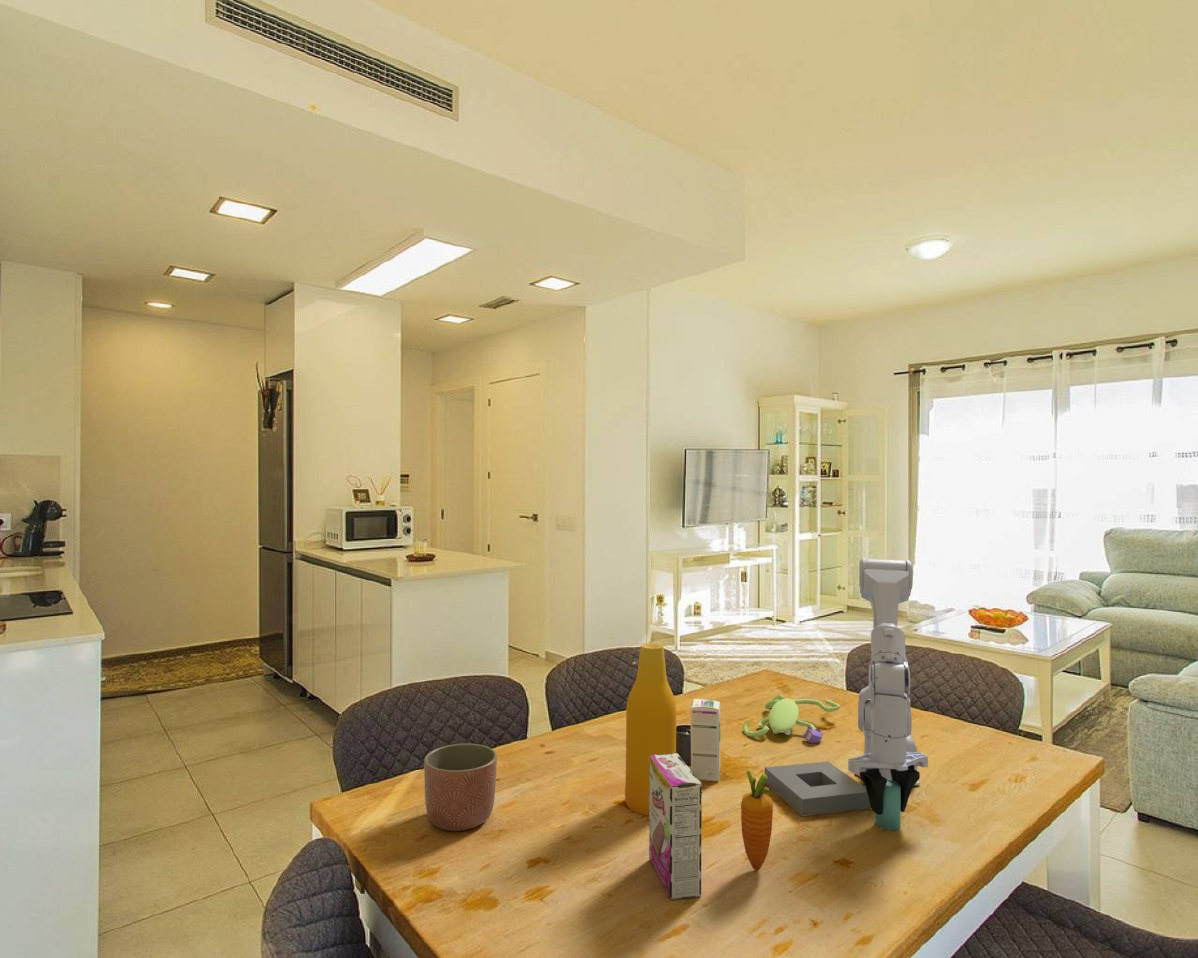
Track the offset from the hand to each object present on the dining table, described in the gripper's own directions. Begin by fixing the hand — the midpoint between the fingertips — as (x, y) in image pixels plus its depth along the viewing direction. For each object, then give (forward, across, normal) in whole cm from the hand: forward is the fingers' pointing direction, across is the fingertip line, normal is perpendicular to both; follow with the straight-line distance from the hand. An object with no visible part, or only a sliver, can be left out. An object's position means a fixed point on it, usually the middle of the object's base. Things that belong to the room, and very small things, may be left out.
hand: (887, 810), depth 119 cm
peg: (+2, 0, 0) cm, 2 cm away
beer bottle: (+3, -38, +16) cm, 41 cm away
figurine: (+3, +9, +48) cm, 49 cm away
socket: (+2, -6, +13) cm, 15 cm away
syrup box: (+3, -23, +26) cm, 35 cm away
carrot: (+3, -29, -8) cm, 30 cm away
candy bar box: (+3, -42, -7) cm, 43 cm away
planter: (+3, -72, +18) cm, 74 cm away
